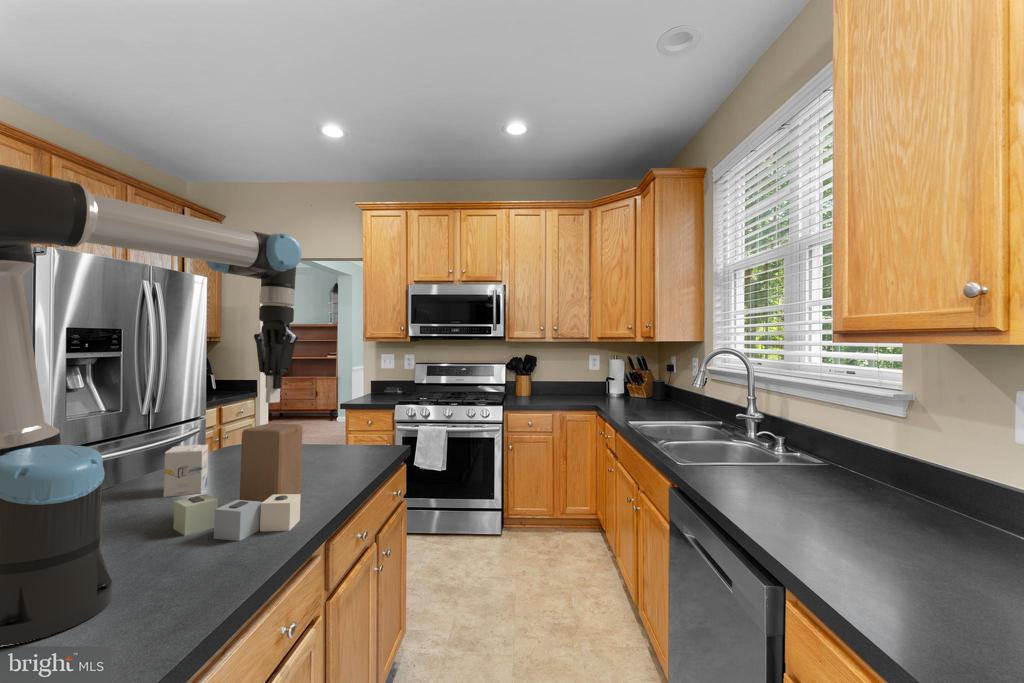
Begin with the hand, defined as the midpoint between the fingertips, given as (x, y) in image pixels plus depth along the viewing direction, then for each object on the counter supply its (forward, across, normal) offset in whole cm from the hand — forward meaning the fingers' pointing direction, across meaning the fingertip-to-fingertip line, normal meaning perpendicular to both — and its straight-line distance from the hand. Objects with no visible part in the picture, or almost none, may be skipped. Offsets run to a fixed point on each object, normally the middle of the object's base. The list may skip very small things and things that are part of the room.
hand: (272, 402), depth 109 cm
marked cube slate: (+26, -7, +12) cm, 30 cm away
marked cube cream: (+26, -11, +5) cm, 29 cm away
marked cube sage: (+26, +4, +14) cm, 30 cm away
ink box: (+26, +32, 0) cm, 41 cm away
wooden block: (+26, 0, -1) cm, 26 cm away
